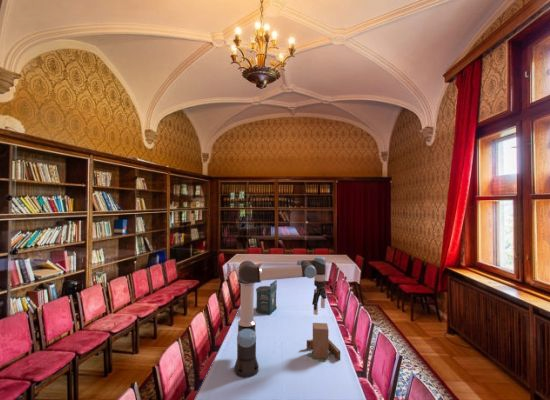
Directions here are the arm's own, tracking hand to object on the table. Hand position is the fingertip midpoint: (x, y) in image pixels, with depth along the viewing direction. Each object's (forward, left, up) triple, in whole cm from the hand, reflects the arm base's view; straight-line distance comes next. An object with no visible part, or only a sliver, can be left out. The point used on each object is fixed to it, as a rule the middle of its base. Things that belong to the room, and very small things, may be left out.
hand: (319, 311), depth 204 cm
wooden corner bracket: (+3, +1, -30) cm, 31 cm away
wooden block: (+1, 0, -30) cm, 30 cm away
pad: (0, 0, -30) cm, 30 cm away
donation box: (-16, +87, -31) cm, 93 cm away
